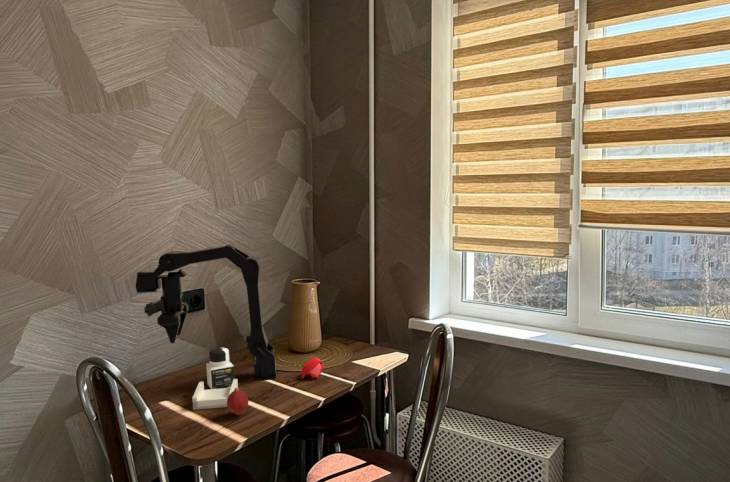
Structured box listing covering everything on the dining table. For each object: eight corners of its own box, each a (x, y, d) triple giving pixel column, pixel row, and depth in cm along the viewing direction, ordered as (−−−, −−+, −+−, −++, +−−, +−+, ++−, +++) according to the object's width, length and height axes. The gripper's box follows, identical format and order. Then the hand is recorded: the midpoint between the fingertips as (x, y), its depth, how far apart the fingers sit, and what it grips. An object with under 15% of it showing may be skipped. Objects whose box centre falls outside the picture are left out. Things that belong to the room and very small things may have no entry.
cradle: (238, 389, 178) (237, 378, 178) (233, 406, 165) (233, 394, 165) (200, 392, 177) (199, 381, 176) (193, 409, 164) (192, 398, 163)
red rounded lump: (229, 411, 162) (227, 384, 161) (250, 410, 162) (248, 382, 161) (226, 420, 156) (224, 391, 155) (247, 418, 157) (246, 390, 156)
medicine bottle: (212, 391, 177) (209, 354, 176) (207, 384, 184) (204, 348, 182) (235, 387, 180) (232, 350, 179) (229, 380, 187) (227, 344, 185)
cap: (321, 362, 192) (306, 354, 191) (327, 361, 187) (311, 353, 185) (312, 384, 189) (296, 377, 188) (317, 384, 184) (301, 376, 182)
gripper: (152, 287, 191) (156, 333, 193) (137, 299, 172) (142, 349, 174) (187, 285, 192) (190, 330, 194) (176, 296, 174) (179, 346, 175)
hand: (175, 339), depth 184 cm, fingers open, 9 cm apart
